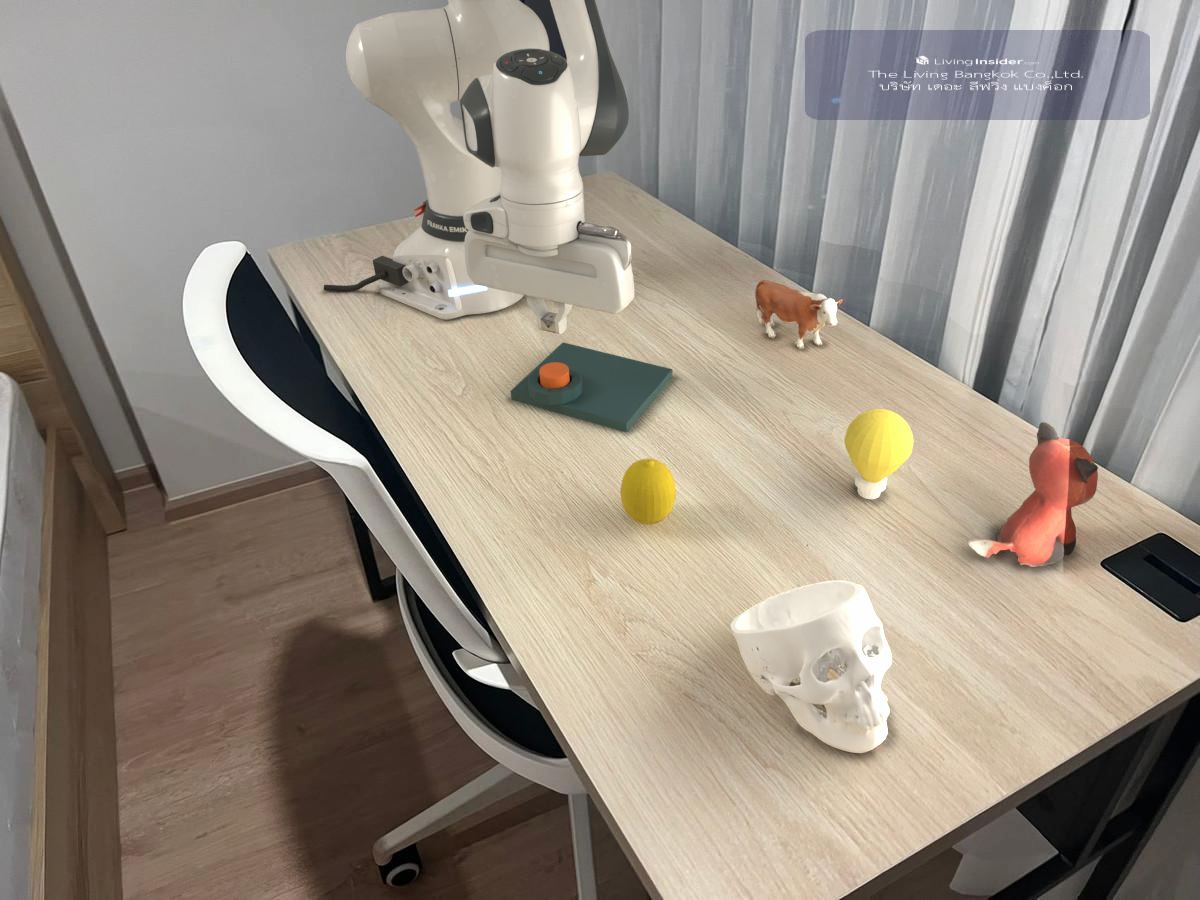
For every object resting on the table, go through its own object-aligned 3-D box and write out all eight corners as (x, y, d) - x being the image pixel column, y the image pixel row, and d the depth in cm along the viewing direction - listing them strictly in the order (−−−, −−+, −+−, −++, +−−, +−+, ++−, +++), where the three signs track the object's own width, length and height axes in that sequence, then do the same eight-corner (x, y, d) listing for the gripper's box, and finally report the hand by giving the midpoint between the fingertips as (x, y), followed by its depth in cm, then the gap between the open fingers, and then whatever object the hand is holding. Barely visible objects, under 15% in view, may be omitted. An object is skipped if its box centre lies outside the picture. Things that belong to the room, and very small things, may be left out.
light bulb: (824, 482, 97) (835, 406, 91) (875, 466, 99) (890, 389, 93) (862, 520, 92) (876, 441, 86) (915, 501, 94) (933, 423, 88)
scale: (508, 403, 111) (505, 382, 109) (563, 351, 121) (562, 331, 119) (623, 436, 105) (623, 415, 103) (672, 378, 114) (672, 358, 112)
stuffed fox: (944, 539, 89) (970, 442, 82) (1032, 508, 93) (1065, 412, 85) (998, 589, 84) (1031, 490, 76) (1090, 554, 87) (1130, 456, 80)
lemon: (671, 543, 90) (672, 481, 85) (616, 537, 91) (615, 475, 86) (678, 507, 94) (680, 446, 90) (626, 502, 95) (625, 441, 91)
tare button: (534, 385, 109) (533, 373, 108) (549, 371, 112) (548, 359, 111) (560, 392, 108) (559, 380, 107) (575, 378, 110) (574, 366, 109)
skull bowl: (844, 789, 66) (798, 638, 65) (739, 735, 79) (698, 607, 77) (945, 724, 70) (904, 580, 69) (830, 682, 83) (793, 560, 81)
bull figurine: (825, 365, 116) (833, 309, 111) (746, 328, 124) (750, 274, 119) (846, 353, 118) (854, 297, 113) (766, 317, 126) (771, 264, 121)
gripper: (643, 219, 95) (644, 335, 103) (482, 193, 103) (495, 302, 111) (616, 241, 90) (619, 361, 98) (450, 212, 98) (466, 325, 107)
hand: (552, 330), depth 105 cm, fingers closed
